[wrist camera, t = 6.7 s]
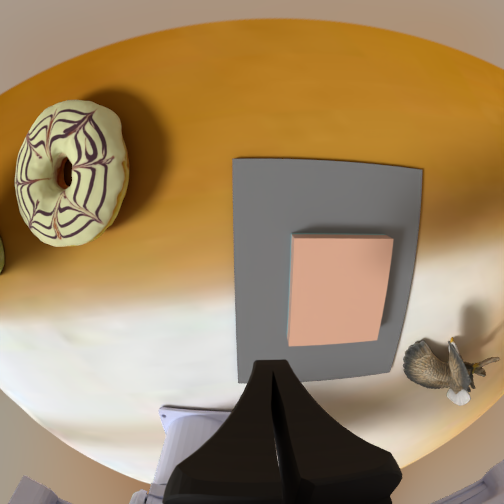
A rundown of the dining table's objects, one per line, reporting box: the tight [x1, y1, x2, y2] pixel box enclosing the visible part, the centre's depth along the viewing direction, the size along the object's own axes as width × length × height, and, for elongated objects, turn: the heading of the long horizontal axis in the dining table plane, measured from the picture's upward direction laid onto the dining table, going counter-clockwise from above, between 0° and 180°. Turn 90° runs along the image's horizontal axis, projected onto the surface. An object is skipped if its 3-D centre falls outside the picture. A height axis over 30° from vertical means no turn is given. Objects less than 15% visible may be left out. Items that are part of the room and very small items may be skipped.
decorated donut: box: [15, 100, 130, 247], centre depth 17 cm, size 10×11×4 cm
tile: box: [287, 233, 393, 346], centre depth 20 cm, size 8×2×7 cm
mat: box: [233, 159, 422, 383], centre depth 21 cm, size 18×14×1 cm
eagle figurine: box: [403, 337, 500, 406], centre depth 21 cm, size 8×7×9 cm
